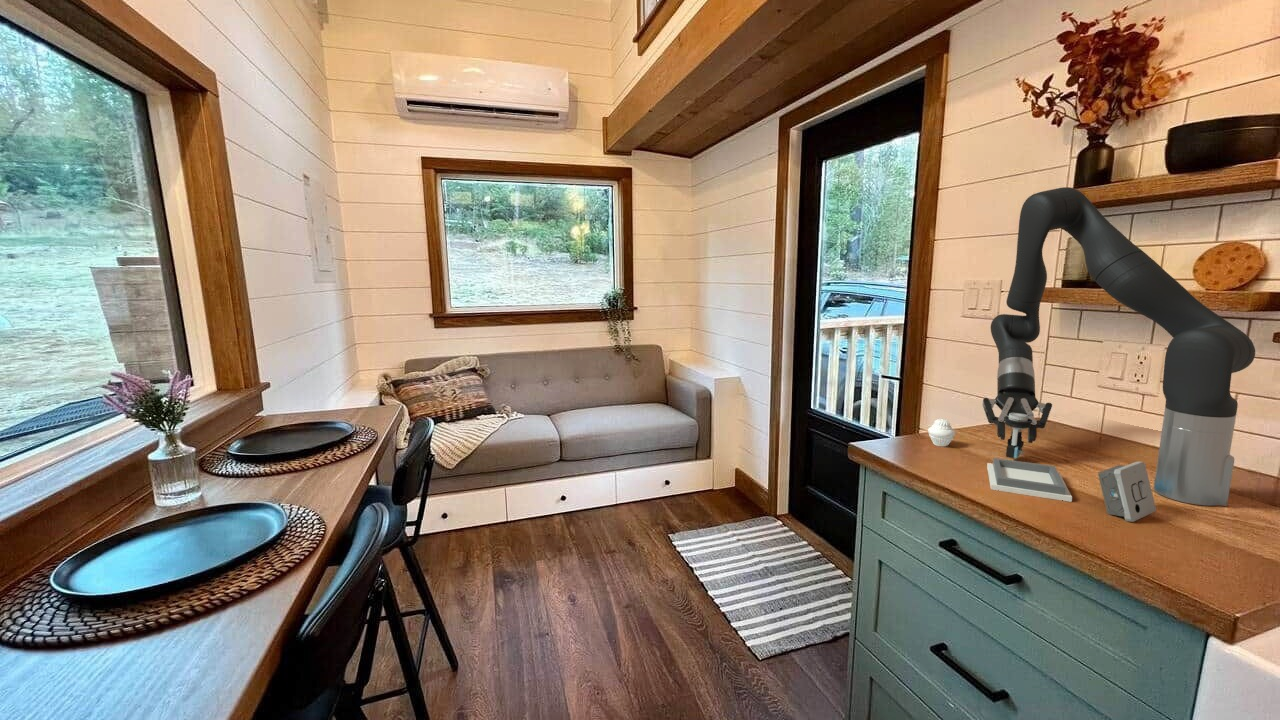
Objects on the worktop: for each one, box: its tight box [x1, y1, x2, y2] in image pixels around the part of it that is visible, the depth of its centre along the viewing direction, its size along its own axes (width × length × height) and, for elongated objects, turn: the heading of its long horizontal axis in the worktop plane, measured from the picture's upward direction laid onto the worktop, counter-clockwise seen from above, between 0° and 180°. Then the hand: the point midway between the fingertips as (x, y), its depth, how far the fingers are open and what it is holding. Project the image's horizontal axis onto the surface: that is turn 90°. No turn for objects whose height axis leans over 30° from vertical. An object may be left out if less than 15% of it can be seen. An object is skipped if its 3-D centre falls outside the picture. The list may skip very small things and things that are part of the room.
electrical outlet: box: [1097, 461, 1157, 523], centre depth 95 cm, size 9×5×9 cm, turn 116°
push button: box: [1004, 413, 1032, 460], centre depth 121 cm, size 7×5×10 cm
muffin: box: [927, 418, 956, 448], centre depth 133 cm, size 6×6×7 cm
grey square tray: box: [986, 457, 1073, 503], centre depth 109 cm, size 13×14×2 cm
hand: (1016, 439), depth 120 cm, fingers closed on push button, 4 cm apart
